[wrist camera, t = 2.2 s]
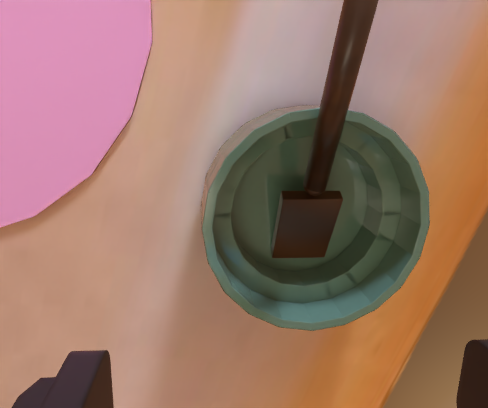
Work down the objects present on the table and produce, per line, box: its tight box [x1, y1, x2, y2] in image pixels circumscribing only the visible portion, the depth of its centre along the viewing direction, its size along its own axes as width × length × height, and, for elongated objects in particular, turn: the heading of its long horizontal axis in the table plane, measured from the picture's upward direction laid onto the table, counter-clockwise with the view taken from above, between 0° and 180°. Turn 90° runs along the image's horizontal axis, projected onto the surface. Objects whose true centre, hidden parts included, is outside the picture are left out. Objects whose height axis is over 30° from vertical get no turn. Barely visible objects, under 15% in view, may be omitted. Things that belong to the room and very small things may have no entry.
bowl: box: [201, 105, 430, 331], centre depth 28 cm, size 14×14×6 cm
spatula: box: [271, 0, 378, 258], centre depth 24 cm, size 18×4×11 cm, turn 179°
